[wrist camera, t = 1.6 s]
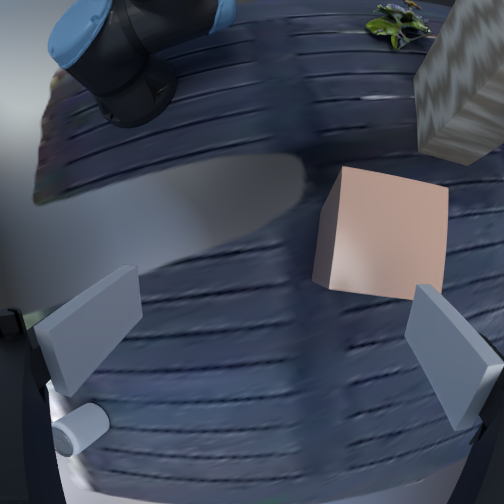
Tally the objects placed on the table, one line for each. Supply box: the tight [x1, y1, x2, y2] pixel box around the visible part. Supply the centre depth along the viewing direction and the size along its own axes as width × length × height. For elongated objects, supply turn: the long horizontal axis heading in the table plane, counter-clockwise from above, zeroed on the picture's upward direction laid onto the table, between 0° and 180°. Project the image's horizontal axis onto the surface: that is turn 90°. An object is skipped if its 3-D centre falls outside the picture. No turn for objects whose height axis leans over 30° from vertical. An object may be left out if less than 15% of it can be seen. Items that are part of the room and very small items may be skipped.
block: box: [312, 166, 448, 300], centre depth 33 cm, size 10×10×20 cm
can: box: [52, 403, 110, 457], centre depth 40 cm, size 6×6×12 cm
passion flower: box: [365, 0, 434, 51], centre depth 40 cm, size 11×11×12 cm
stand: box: [413, 0, 504, 166], centre depth 27 cm, size 15×10×30 cm, turn 172°
